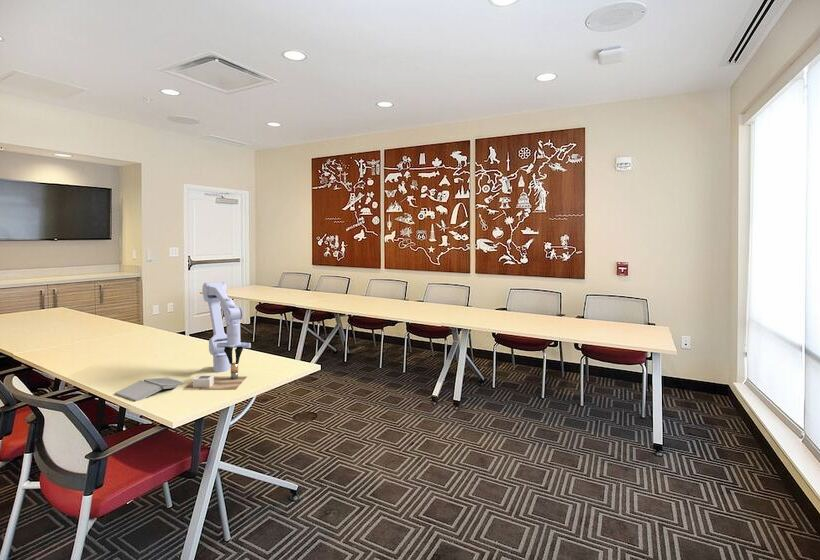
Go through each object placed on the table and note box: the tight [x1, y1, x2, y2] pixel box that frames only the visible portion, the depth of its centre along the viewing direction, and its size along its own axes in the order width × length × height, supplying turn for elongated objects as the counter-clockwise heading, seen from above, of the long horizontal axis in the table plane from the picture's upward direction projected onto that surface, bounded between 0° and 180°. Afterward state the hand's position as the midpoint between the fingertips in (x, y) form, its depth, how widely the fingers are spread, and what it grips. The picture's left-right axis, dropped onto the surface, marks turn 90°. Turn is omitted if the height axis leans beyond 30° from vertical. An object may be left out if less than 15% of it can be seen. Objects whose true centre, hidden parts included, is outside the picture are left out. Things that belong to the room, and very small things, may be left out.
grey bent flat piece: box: [114, 377, 185, 402], centre depth 193 cm, size 23×15×4 cm, turn 151°
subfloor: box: [182, 375, 248, 391], centre depth 200 cm, size 18×22×1 cm
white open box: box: [192, 375, 214, 387], centre depth 196 cm, size 5×7×4 cm
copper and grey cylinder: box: [230, 362, 239, 380], centre depth 206 cm, size 3×3×7 cm
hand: (234, 363), depth 205 cm, fingers open, 2 cm apart
